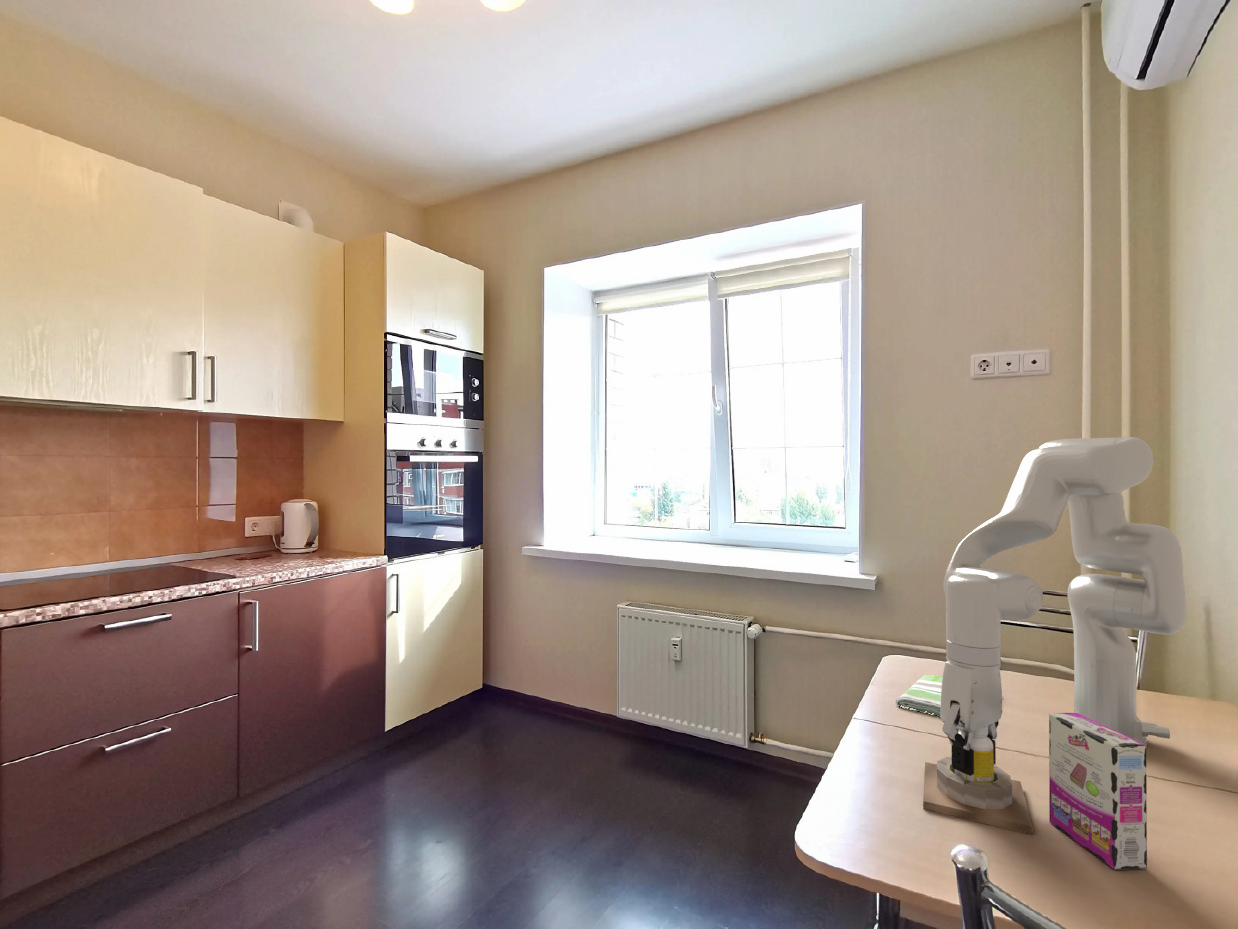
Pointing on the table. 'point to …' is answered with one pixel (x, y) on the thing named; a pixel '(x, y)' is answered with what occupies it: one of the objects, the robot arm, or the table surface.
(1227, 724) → the table surface
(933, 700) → the dish towel
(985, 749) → the supplement bottle
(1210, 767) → the table surface
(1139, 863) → the candy bar box
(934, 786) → the hub block
